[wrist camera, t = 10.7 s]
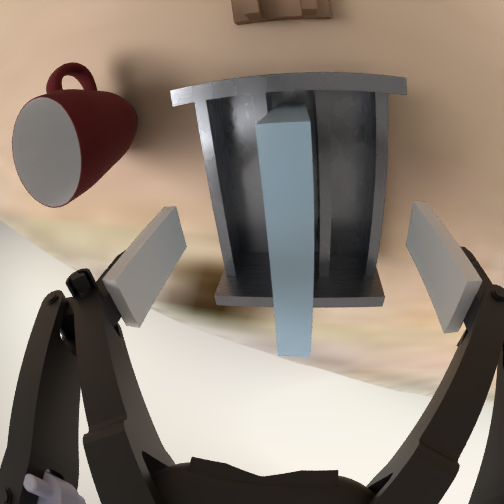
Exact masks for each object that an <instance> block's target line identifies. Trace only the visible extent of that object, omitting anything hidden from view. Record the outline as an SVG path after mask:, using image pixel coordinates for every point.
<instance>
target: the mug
mask: <svg viewBox="0 0 504 504" xmlns="http://www.w3.org/2000/svg"><path fill="white" fill-rule="evenodd" d="M66 75H70V76H73V77H75V78H76V79H77V80H78V81H79V82H80V83H81V85H82V87H83V89H84V90H77V89H68V90H63V89H62V78H63V77H64V76H66ZM46 91H47V94H45V95H41V96H38V97H36V98H33V99H32V100H30V101H29V102H28V103H26V104H25V106H24V107H23V108H22V110H21V111H20V113H19V115H18V117H17V119H16V122H15V126H14V130H13V137H12V151H13V159H14V163H15V167H16V170H17V173H18V176H19V178H20V180H21V182H22V184H23V185H24V187H25V188H26V190H27V191H28V192H29V194H30V195H31V196H32V197H33V198H34V199H35V200H37V201H38V202H39V203H41V204H43V205H45V206H48V207H53V208H57V207H62V206H64V205H66V204H68V203H69V202H71V201H72V200H74V199H75V198H77V197H78V196H80V195H81V194H83V193H84V192H86V191H87V190H88V189H89V188H91V187H92V186H93V185H94V184H95V183H96V182H97V181H98V180H99V179H100V178H101V177H102V176H103V175H104V174H105V173H106V172H107V171H108V170H109V169H110V168H111V167H112V166H113V165H114V164H115V163H116V162H117V161H118V160H120V159H121V158H122V157H123V155H124V154H125V153H126V152H127V150H128V149H129V147H130V145H131V143H132V141H133V138H134V136H135V132H136V129H137V116H136V113H135V111H134V109H133V108H132V106H131V105H130V104H129V103H128V102H126V101H125V100H124V99H123V98H121V97H120V96H118V95H116V94H113V93H110V92H104V91H97V87H96V84H95V81H94V78H93V76H92V74H91V72H90V71H89V70H88V69H87V68H86V67H85V66H83V65H81V64H79V63H67V64H64V65H62V66H60V67H59V68H57V69H56V70H55V71H54V72H53V73H52V74H51V76H50V77H49V80H48V82H47V86H46Z"/></svg>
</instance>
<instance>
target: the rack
mask: <svg viewBox="0 0 504 504" xmlns="http://www.w3.org/2000/svg"><path fill="white" fill-rule="evenodd" d="M170 93H171V99H172V105H173V106H178V105H182V104H187V103H193V102H194V103H195V109H196V116H197V122H198V128H199V134H200V139H201V145H202V151H203V157H204V162H205V168H206V174H207V179H208V184H209V190H210V195H211V200H212V206H213V211H214V216H215V221H216V226H217V231H218V236H219V241H220V246H221V251H222V256H223V261H224V266H225V270H224V272H223V275H222V277H221V280H220V282H219V285H218V287H217V290H216V293H215V295H214V296H215V300H216V304H217V305H228V306H254V307H274V302H273V291H272V280H271V270H270V259H269V249H268V239H267V229H266V219H265V210H264V200H263V191H262V182H261V173H260V164H259V155H258V146H257V137H256V129H255V124H256V123H257V122H258V121H259V120H261V119H262V118H263V117H264V116H265V115H266V114H268V113H269V112H270V111H271V110H272V109H274V108H275V107H276V106H277V105H278V104H280V103H292V102H305V105H306V108H307V112H308V115H309V119H310V126H311V142H312V161H313V188H314V288H313V307H378V306H383V302H384V298H385V296H384V292H383V288H382V285H381V281H380V278H379V275H378V271H377V268H376V263H377V257H378V251H379V244H380V236H381V229H382V220H383V211H384V201H385V189H386V174H387V153H388V99H387V93H393V94H402V95H407V86H406V78H403V77H395V76H387V75H376V74H363V73H342V72H305V73H283V74H270V75H259V76H250V77H241V78H234V79H227V80H221V81H214V82H209V83H203V84H198V85H193V86H188V87H184V88H179V89H175V90H171V91H170Z"/></svg>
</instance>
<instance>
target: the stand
mask: <svg viewBox="0 0 504 504" xmlns="http://www.w3.org/2000/svg"><path fill="white" fill-rule="evenodd" d="M231 2H232V9H233V17H234V22H235V23H236V24H237V25H239V24H246V23H254V22H262V21H273V20H286V19H330V17H331V11H330V5H329V0H231Z"/></svg>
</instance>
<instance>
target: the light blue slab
mask: <svg viewBox="0 0 504 504" xmlns="http://www.w3.org/2000/svg"><path fill="white" fill-rule="evenodd" d="M255 129H256V137H257V146H258V155H259V164H260V173H261V182H262V191H263V200H264V210H265V219H266V229H267V239H268V249H269V259H270V270H271V280H272V291H273V302H274V313H275V325H276V337H277V349H278V356H296V357H310V351H311V335H312V315H313V288H314V188H313V161H312V142H311V126H310V119H309V115H308V112H307V108H306V105H305V102H292V103H280V104H278V105H277V106H276V107H275V108H274V109H272V110H271V111H270V112H269V113H268V114H266V115H265V116H264V117H263V118H262V119H261V120H259V121H258V122H257V123H256V124H255Z"/></svg>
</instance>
